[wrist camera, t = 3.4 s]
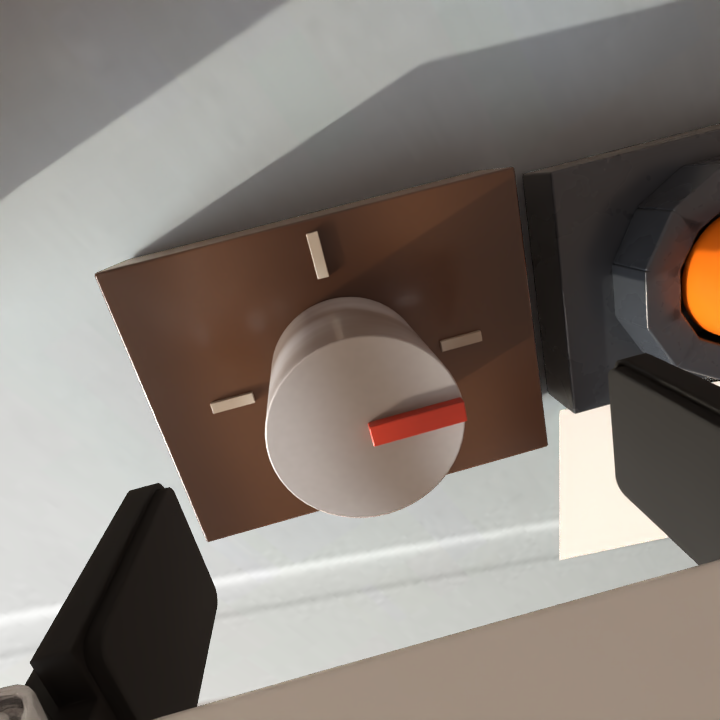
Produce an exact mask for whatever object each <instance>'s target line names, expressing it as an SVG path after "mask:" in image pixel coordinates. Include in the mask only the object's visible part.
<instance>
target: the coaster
mask: <svg viewBox="0 0 720 720" xmlns="http://www.w3.org/2000/svg"><path fill="white" fill-rule="evenodd" d="M711 383H713V384H715V385H717V386H719V387H720V381H717V382H711ZM559 465H560V560H562V559H567V558H572V557H577V556H581V555H586V554H591V553H596V552H600V551H605V550H610V549H615V548H620V547H624V546H629V545H634V544H639V543H644V542H648V541H653V540H658V539H663V538H667V537H668V536H667V535H666V534H665V533H664V532H663V531H662V530H661V529H660V528H659V527H658V526H657V525H656V524H654V523H653V522H652V521H651V520H650V519H649V518H648V517H647V516H646V515H645V514H644V513H643V512H642V511H641V510H640V509H638V508H637V507H636V506H635V505H634V504H633V503H632V502H631V501H630V500H629V499H628V498H627V497H626V496H625V495H624V494H623V493H622V492H621V490H620V489H619V487H618V484H617V481H616V477H615V464H614V450H613V437H612V424H611V410H610V404H609V405H606V406H602V407H599V408H595V409H591V410H588V411H584V412H581V413H577V414H574V413H573V412H571V411H570V410H569V409H565V410H559Z"/></svg>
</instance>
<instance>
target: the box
mask: <svg viewBox="0 0 720 720" xmlns="http://www.w3.org/2000/svg"><path fill="white" fill-rule="evenodd" d="M523 182H524V191H525V200H526V208H527V217H528V225H529V234H530V243H531V251H532V260H533V268H534V277H535V286H536V294H537V303H538V311H539V320H540V329H541V337H542V346H543V354H544V363H545V372H546V380H547V389H548V393H549V394H550V395H551V396H552V397H554V398H555V399H556V400H557V401H559V402H560V403H561V404H563V405H564V406H565V407H566V408H568V409H569V410H570V411H571V412H573V413H574V414H577V413H581V412H584V411H588V410H591V409H595V408H599V407H602V406H606V405H609V404H610V397H609V384H608V373H609V371H610V370H611V369H613V368H614V366H615V363H616V362H617V360H621V359H624V358H628V357H632V356H636V355H639V354H643V353H648V354H651V355H653V356H655V357H657V358H659V359H661V360H663V361H666V362H668V363H670V364H672V365H674V366H676V367H679V368H681V369H683V370H685V371H687V372H689V373H691V374H694V375H696V376H698V377H700V378H706V377H710V378H714V379H718V380H720V336H719V335H716V334H713V333H711V332H708V331H706V330H704V329H702V328H701V327H700V326H698V325H697V324H696V323H695V322H694V321H693V320H692V318H691V317H690V316H689V314H688V312H687V310H686V308H685V305H684V303H683V298H682V290H681V283H682V274H683V269H684V266H685V262H686V260H687V257H688V255H689V252H690V251H691V249H692V247H693V245H694V243H695V242H696V240H697V239H698V237H699V236H700V235H701V234H702V232H703V231H704V230H705V229H706V228H707V227H708V226H709V225H710V224H711V223H712V222H713V221H714V220H716V219H717V218H718V217H719V216H720V123H719V124H715V125H712V126H708V127H704V128H700V129H696V130H692V131H688V132H684V133H680V134H676V135H673V136H669V137H665V138H661V139H657V140H653V141H649V142H645V143H641V144H637V145H633V146H630V147H626V148H622V149H618V150H614V151H610V152H606V153H602V154H598V155H594V156H591V157H587V158H583V159H579V160H575V161H571V162H567V163H563V164H559V165H555V166H552V167H548V168H544V169H540V170H536V171H532V172H528V173H525V174H523Z"/></svg>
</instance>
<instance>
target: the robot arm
mask: <svg viewBox="0 0 720 720" xmlns="http://www.w3.org/2000/svg"><path fill="white" fill-rule="evenodd" d="M608 384H609V397H610V410H611V424H612V437H613V450H614V464H615V477H616V481H617V484H618V487H619V489H620V490H621V492H622V493H623V494H624V495H625V496H626V497H627V498H628V499H629V500H630V501H631V502H632V503H633V504H634V505H635V506H636V507H637V508H638V509H640V510H641V511H642V512H643V513H644V514H645V515H646V516H647V517H648V518H649V519H650V520H651V521H652V522H653V523H654V524H656V525H657V526H658V527H659V528H660V529H661V530H662V531H663V532H664V533H665V534H666V535H667V536H668V537H669V538H670V539H672V540H673V541H674V542H675V543H676V544H677V545H678V546H679V547H680V548H681V549H682V550H683V551H684V552H685V553H686V554H688V555H689V556H690V557H691V558H692V559H693V560H694V561H695V562H696V563H697V564H698V565H699V566H695V567H691V568H688V569H684V570H680V571H677V572H673V573H669V574H666V575H662V576H659V577H655V578H651V579H648V580H644V581H640V582H637V583H633V584H630V585H626V586H623V587H619V588H616V589H612V590H608V591H605V592H601V593H598V594H594V595H591V596H587V597H584V598H580V599H576V600H573V601H569V602H566V603H562V604H559V605H555V606H552V607H548V608H544V609H541V610H537V611H534V612H530V613H527V614H523V615H520V616H516V617H512V618H509V619H505V620H502V621H498V622H495V623H491V624H487V625H484V626H480V627H477V628H473V629H470V630H466V631H462V632H459V633H455V634H452V635H448V636H445V637H441V638H437V639H434V640H430V641H427V642H423V643H420V644H416V645H412V646H409V647H405V648H402V649H398V650H395V651H391V652H387V653H384V654H380V655H377V656H373V657H370V658H366V659H362V660H359V661H355V662H352V663H348V664H345V665H341V666H337V667H334V668H330V669H327V670H323V671H320V672H316V673H313V674H309V675H306V676H302V677H299V678H295V679H292V680H289V681H285V682H282V683H278V684H275V685H271V686H268V687H264V688H261V689H257V690H254V691H250V692H247V693H243V694H240V695H236V696H233V697H229V698H226V699H222V700H219V701H215V702H212V703H208V704H205V705H201V706H198V707H197V704H198V699H199V694H200V689H201V684H202V679H203V674H204V669H205V664H206V659H207V654H208V649H209V644H210V639H211V635H212V630H213V625H214V620H215V615H216V610H217V593H216V589H215V586H214V584H213V581H212V579H211V577H210V574H209V572H208V570H207V567H206V565H205V563H204V560H203V558H202V555H201V553H200V551H199V548H198V546H197V544H196V541H195V539H194V537H193V534H192V532H191V530H190V527H189V525H188V523H187V520H186V518H185V516H184V513H183V511H182V509H181V506H180V504H179V502H178V499H177V497H176V495H175V493H174V491H173V490H172V488H170V487H169V488H164V487H163V486H162V485H161V484H159V483H157V484H153V485H149V486H145V487H142V488H138V489H134V490H130V491H129V492H128V493H127V495H126V497H125V498H124V500H123V502H122V504H121V505H120V507H119V509H118V511H117V512H116V514H115V516H114V517H113V519H112V521H111V523H110V524H109V526H108V528H107V530H106V531H105V533H104V535H103V537H102V538H101V540H100V542H99V543H98V545H97V547H96V549H95V550H94V552H93V554H92V556H91V557H90V559H89V561H88V563H87V564H86V566H85V568H84V569H83V571H82V573H81V575H80V576H79V578H78V580H77V582H76V583H75V585H74V587H73V588H72V590H71V592H70V594H69V595H68V597H67V599H66V601H65V602H64V604H63V606H62V608H61V609H60V611H59V613H58V614H57V616H56V618H55V620H54V621H53V623H52V625H51V627H50V628H49V630H48V632H47V634H46V635H45V637H44V639H43V640H42V642H41V644H40V646H39V647H38V649H37V651H36V653H35V654H34V656H33V658H32V660H31V661H30V664H31V666H32V667H33V669H34V670H33V671H32V673H31V675H30V677H29V679H28V680H27V682H26V684H25V686H24V685H18V684H17V685H12V686H7V687H3V688H0V720H720V387H719V386H717V385H715V384H713V383H711V382H709V381H707V380H704V379H702V378H700V377H698V376H696V375H694V374H691V373H689V372H687V371H685V370H683V369H681V368H679V367H676V366H674V365H672V364H670V363H668V362H666V361H663V360H661V359H659V358H657V357H655V356H653V355H651V354H648V353H643V354H639V355H636V356H632V357H628V358H624V359H621V360H617V362H616V363H615V366H614V368H613V369H611V370H610V371H609V373H608Z"/></svg>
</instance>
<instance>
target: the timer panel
mask: <svg viewBox="0 0 720 720" xmlns="http://www.w3.org/2000/svg"><path fill="white" fill-rule="evenodd" d="M95 278H96V280H97V282H98V285H99V287H100V290H101V292H102V294H103V297H104V299H105V301H106V304H107V306H108V309H109V311H110V313H111V316H112V318H113V320H114V323H115V325H116V328H117V330H118V332H119V335H120V337H121V339H122V342H123V344H124V346H125V349H126V351H127V354H128V356H129V358H130V361H131V363H132V365H133V368H134V370H135V373H136V375H137V377H138V380H139V382H140V384H141V387H142V389H143V392H144V394H145V396H146V399H147V401H148V403H149V406H150V408H151V410H152V413H153V415H154V418H155V420H156V422H157V425H158V427H159V429H160V432H161V434H162V437H163V439H164V441H165V444H166V446H167V448H168V451H169V453H170V456H171V458H172V460H173V463H174V465H175V467H176V470H177V472H178V474H179V477H180V479H181V482H182V484H183V486H184V489H185V491H186V493H187V496H188V498H189V501H190V503H191V505H192V508H193V510H194V512H195V515H196V517H197V520H198V522H199V524H200V527H201V529H202V531H203V534H204V536H205V538H206V541H207V542H210V541H214V540H217V539H221V538H224V537H228V536H231V535H235V534H238V533H242V532H245V531H249V530H252V529H256V528H260V527H263V526H267V525H270V524H274V523H277V522H281V521H284V520H288V519H291V518H295V517H298V516H302V515H305V514H309V513H313V512H316V511H320V510H317V509H315V508H313V507H311V506H310V505H308V504H306V503H304V502H303V501H302V500H300V499H299V498H297V497H296V496H295V495H294V494H293V493H292V492H291V491H289V490H288V489H287V487H286V486H285V485H284V484H283V483H282V481H281V480H280V479H279V477H278V475H277V474H276V472H275V471H274V469H273V466H272V464H271V462H270V459H269V456H268V452H267V448H266V440H265V422H266V413H267V403H268V394H269V385H270V376H271V366H272V360H273V354H274V351H275V348H276V345H277V343H278V341H279V339H280V337H281V335H282V334H283V332H284V331H285V329H286V328H287V326H288V325H289V324H290V323H291V322H292V321H293V320H294V319H295V318H296V317H297V316H298V315H300V314H301V313H302V312H304V311H305V310H307V309H308V308H310V307H312V306H314V305H316V304H318V303H320V302H323V301H326V300H329V299H334V298H339V297H360V298H365V299H370V300H373V301H376V302H379V303H381V304H383V305H385V306H387V307H389V308H390V309H392V310H393V311H395V312H396V313H397V314H399V315H400V316H401V317H402V318H403V319H404V320H405V321H406V322H407V324H408V325H409V326H410V327H411V328H412V329H413V330H414V331H415V333H416V334H417V335H418V336H419V337H420V338H421V339H422V341H423V342H424V343H425V344H426V345H427V346H428V347H429V349H430V350H431V351H432V352H433V353H434V354H435V355H436V356H437V358H438V359H439V360H440V361H441V362H442V363H443V365H444V366H445V367H446V368H447V369H448V371H449V372H450V373H451V375H452V377H453V378H454V380H455V381H456V383H457V386H458V388H459V390H460V393H461V396H462V400H463V401H464V403H465V408H466V414H467V421H465V429H464V435H463V441H462V444H461V447H460V450H459V453H458V455H457V457H456V459H455V462H454V463H453V465H452V467H451V468H450V470H449V471H448V473H447V474H450V473H454V472H458V471H461V470H465V469H468V468H472V467H475V466H479V465H482V464H486V463H489V462H493V461H496V460H500V459H504V458H507V457H511V456H514V455H518V454H521V453H525V452H528V451H532V450H535V449H539V448H542V447H546V446H547V445H548V443H547V435H546V426H545V418H544V410H543V402H542V393H541V385H540V377H539V369H538V360H537V352H536V344H535V336H534V327H533V319H532V311H531V303H530V294H529V286H528V278H527V270H526V261H525V253H524V245H523V237H522V228H521V220H520V212H519V204H518V195H517V187H516V179H515V171H514V168H513V167H504V168H495V169H486V170H478V171H474V172H470V173H466V174H462V175H458V176H454V177H450V178H446V179H442V180H439V181H435V182H431V183H427V184H423V185H419V186H415V187H411V188H407V189H403V190H399V191H395V192H391V193H387V194H384V195H380V196H376V197H372V198H368V199H364V200H360V201H356V202H352V203H348V204H344V205H340V206H336V207H333V208H329V209H325V210H321V211H317V212H313V213H309V214H305V215H301V216H297V217H293V218H289V219H285V220H282V221H278V222H274V223H270V224H266V225H262V226H258V227H254V228H250V229H246V230H242V231H238V232H234V233H231V234H227V235H223V236H219V237H215V238H211V239H207V240H203V241H199V242H195V243H191V244H187V245H183V246H179V247H176V248H172V249H168V250H164V251H160V252H156V253H152V254H148V255H144V256H140V257H136V258H132V259H128V260H125V261H123V262H120V263H118V264H116V265H113V266H111V267H109V268H106V269H104V270H102V271H99V272H97V273H96V274H95ZM447 474H446V475H447Z"/></svg>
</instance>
